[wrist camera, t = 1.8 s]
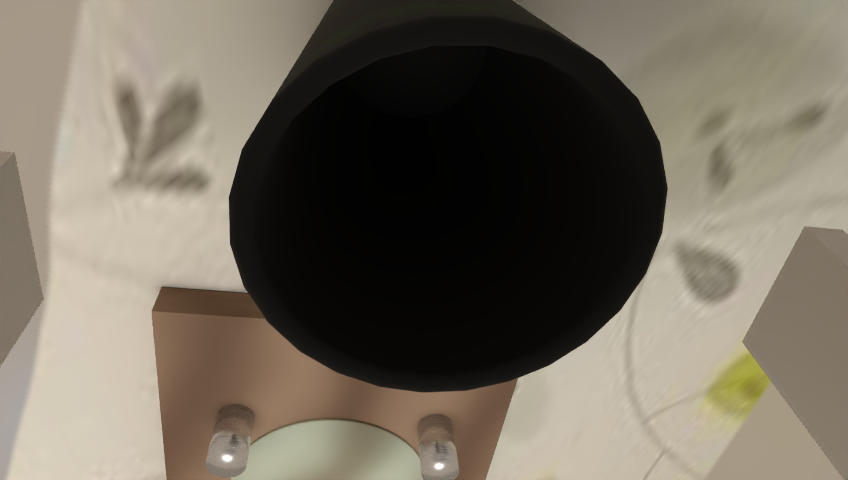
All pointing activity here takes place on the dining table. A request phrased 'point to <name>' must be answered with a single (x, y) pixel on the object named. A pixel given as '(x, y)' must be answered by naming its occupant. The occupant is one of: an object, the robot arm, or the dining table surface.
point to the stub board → (300, 406)
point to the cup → (445, 195)
